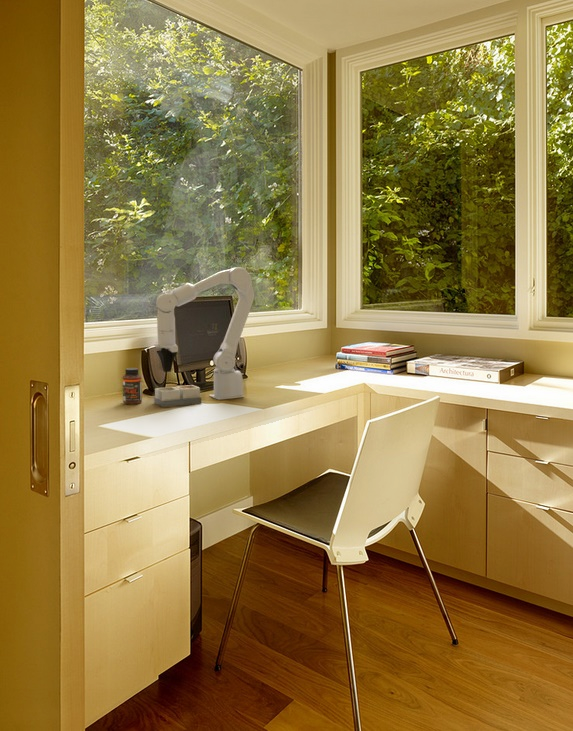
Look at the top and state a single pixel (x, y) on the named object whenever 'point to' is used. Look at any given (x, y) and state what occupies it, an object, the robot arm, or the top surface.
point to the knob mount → (177, 396)
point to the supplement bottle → (132, 387)
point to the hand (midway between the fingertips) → (167, 371)
